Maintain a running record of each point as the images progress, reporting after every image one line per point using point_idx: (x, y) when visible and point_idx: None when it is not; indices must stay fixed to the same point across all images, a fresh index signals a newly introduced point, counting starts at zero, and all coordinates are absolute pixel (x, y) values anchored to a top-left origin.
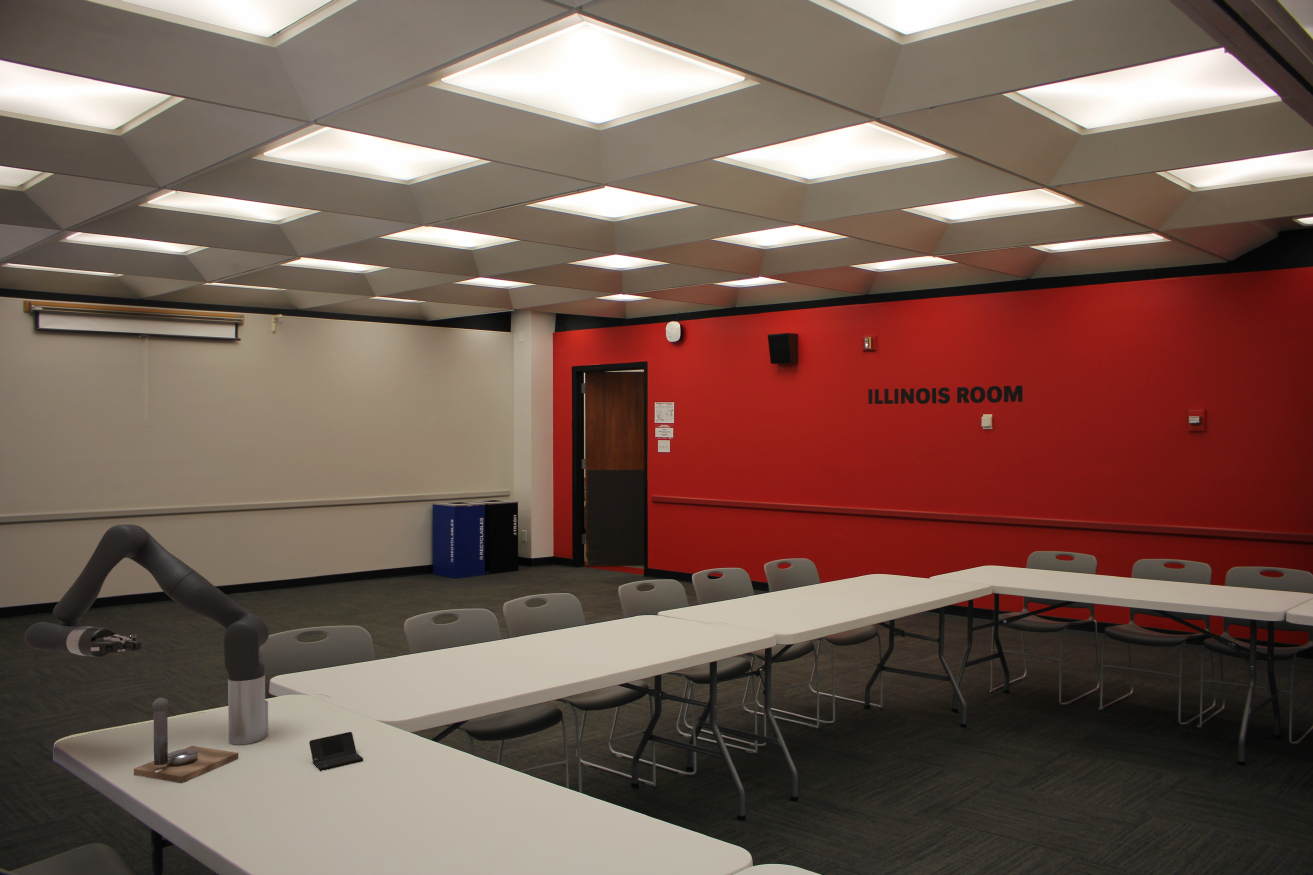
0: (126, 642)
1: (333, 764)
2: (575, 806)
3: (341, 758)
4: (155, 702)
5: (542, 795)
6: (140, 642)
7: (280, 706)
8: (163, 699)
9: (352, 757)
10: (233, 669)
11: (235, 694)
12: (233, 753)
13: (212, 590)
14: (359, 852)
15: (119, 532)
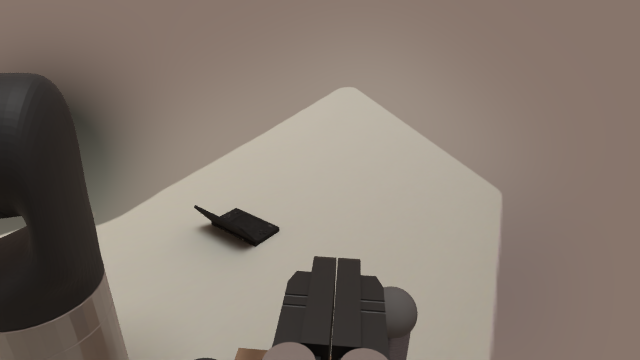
0: (359, 344)
1: (264, 221)
2: (310, 114)
3: (240, 222)
4: (413, 301)
5: (297, 123)
6: (319, 258)
7: None
8: (391, 287)
9: (234, 216)
10: (89, 255)
11: (109, 320)
12: (244, 354)
13: None
14: (430, 155)
15: None
